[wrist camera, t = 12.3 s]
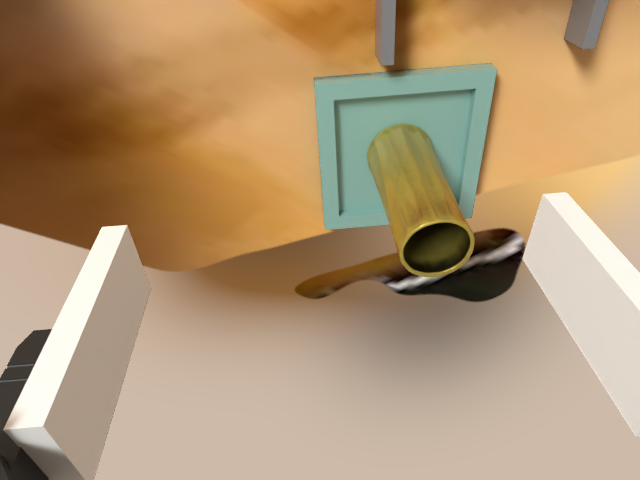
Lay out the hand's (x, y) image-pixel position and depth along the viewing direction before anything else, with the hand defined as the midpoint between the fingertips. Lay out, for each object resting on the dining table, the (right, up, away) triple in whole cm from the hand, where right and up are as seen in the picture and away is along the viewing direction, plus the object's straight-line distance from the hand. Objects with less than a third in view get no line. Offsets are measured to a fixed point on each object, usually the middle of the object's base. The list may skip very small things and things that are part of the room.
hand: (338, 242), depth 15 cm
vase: (+7, +8, +28) cm, 30 cm away
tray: (+7, +9, +28) cm, 30 cm away
